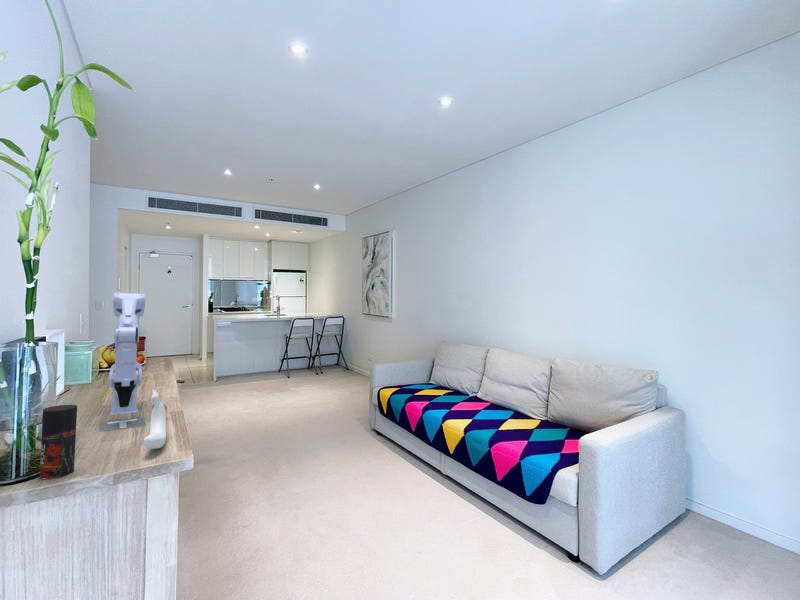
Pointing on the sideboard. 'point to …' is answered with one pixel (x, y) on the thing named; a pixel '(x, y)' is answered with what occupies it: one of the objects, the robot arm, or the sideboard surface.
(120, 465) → the sideboard surface
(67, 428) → the deodorant
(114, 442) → the sideboard surface
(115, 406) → the blue cube
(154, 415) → the white curved piece
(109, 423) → the letter card
